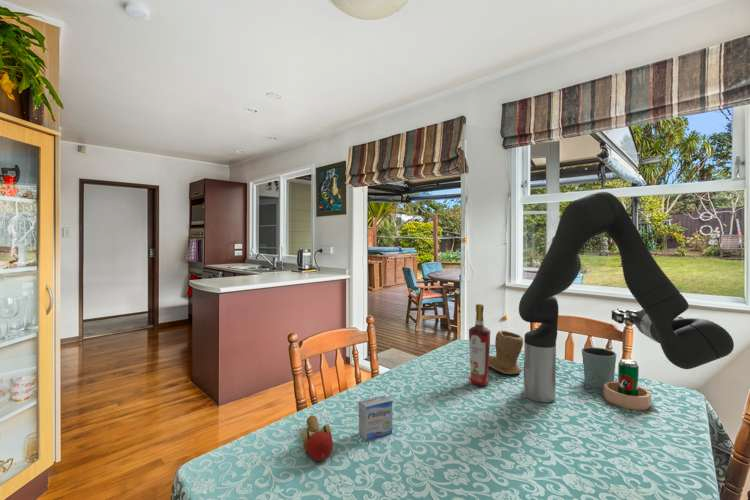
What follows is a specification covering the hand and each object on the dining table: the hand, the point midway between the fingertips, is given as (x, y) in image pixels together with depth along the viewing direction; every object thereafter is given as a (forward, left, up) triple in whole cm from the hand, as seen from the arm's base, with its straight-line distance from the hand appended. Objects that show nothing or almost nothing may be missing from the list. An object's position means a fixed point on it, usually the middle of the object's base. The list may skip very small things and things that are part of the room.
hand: (636, 312), depth 98 cm
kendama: (-78, -42, -30) cm, 94 cm away
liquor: (-43, +10, -30) cm, 54 cm away
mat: (+1, +11, -30) cm, 32 cm away
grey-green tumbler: (-4, +23, -30) cm, 38 cm away
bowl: (+1, +11, -30) cm, 32 cm away
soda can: (+1, +11, -29) cm, 31 cm away
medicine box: (-66, -33, -30) cm, 80 cm away
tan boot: (-35, +28, -30) cm, 54 cm away
